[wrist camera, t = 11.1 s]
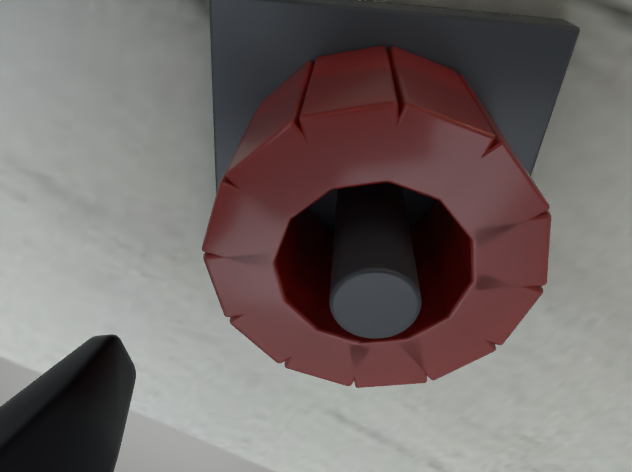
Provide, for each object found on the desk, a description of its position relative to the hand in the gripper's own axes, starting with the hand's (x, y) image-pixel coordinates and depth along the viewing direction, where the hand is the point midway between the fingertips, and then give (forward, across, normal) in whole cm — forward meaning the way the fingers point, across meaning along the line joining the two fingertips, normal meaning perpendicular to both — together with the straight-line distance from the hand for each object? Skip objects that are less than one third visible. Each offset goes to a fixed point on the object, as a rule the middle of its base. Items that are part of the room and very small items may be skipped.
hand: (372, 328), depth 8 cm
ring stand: (+6, 0, 0) cm, 7 cm away
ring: (+6, 0, 0) cm, 6 cm away
